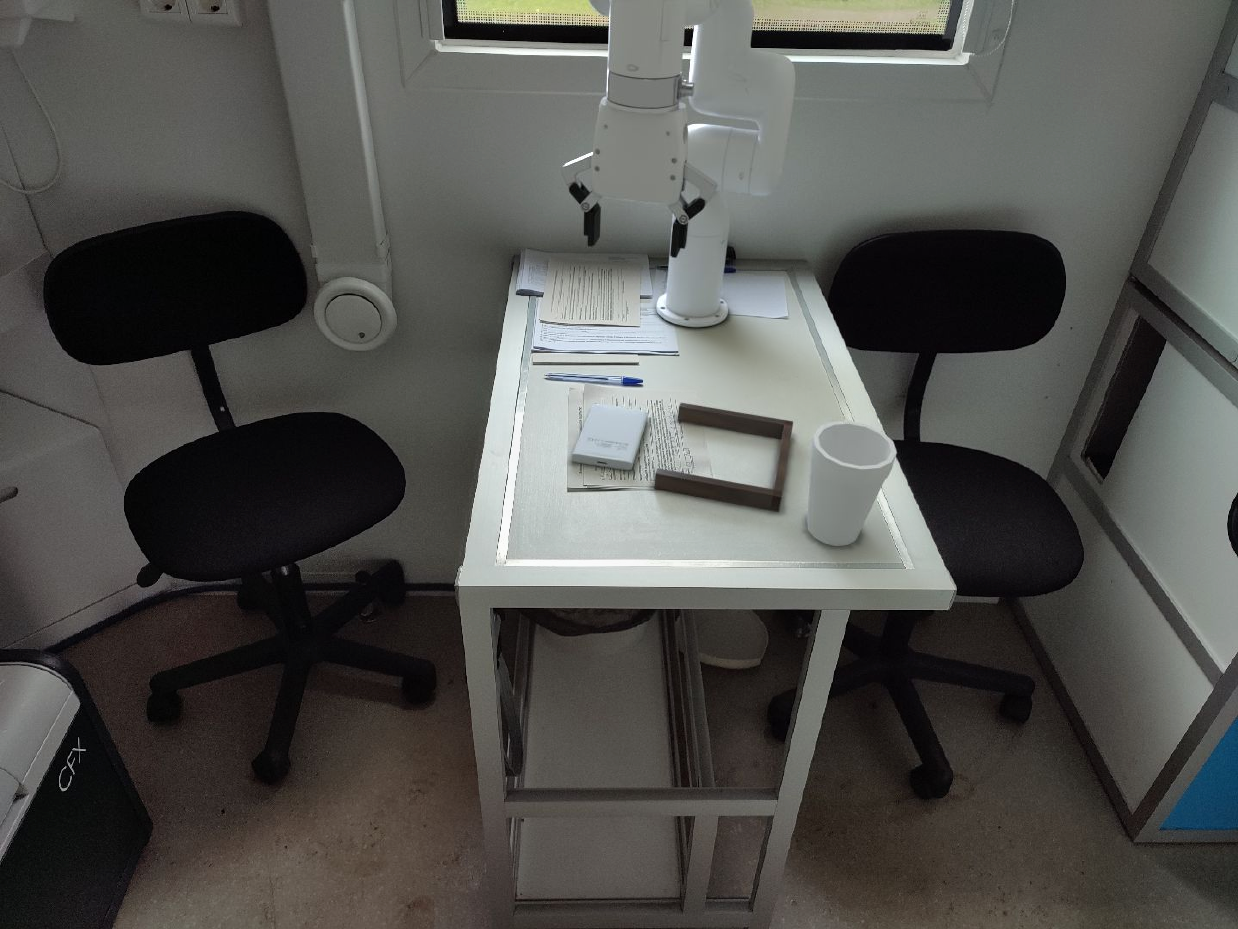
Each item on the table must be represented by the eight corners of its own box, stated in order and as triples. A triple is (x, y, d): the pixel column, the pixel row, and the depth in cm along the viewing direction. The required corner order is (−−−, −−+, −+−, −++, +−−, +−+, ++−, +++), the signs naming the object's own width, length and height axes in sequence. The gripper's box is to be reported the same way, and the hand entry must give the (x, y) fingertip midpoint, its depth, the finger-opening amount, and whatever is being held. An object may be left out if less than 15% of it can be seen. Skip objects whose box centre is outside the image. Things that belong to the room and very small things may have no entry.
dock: (679, 416, 125) (680, 402, 123) (790, 435, 122) (793, 421, 121) (654, 488, 111) (655, 473, 110) (778, 512, 109) (781, 496, 107)
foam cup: (857, 565, 101) (882, 479, 94) (784, 537, 105) (802, 452, 97) (879, 520, 108) (905, 436, 100) (809, 495, 111) (828, 412, 104)
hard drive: (647, 420, 124) (631, 471, 114) (592, 412, 125) (571, 462, 115) (648, 411, 123) (632, 461, 113) (592, 402, 124) (571, 452, 114)
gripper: (731, 89, 90) (713, 245, 100) (572, 73, 93) (570, 226, 103) (721, 107, 84) (703, 270, 94) (552, 89, 87) (552, 250, 97)
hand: (634, 247), depth 99 cm, fingers open, 9 cm apart
